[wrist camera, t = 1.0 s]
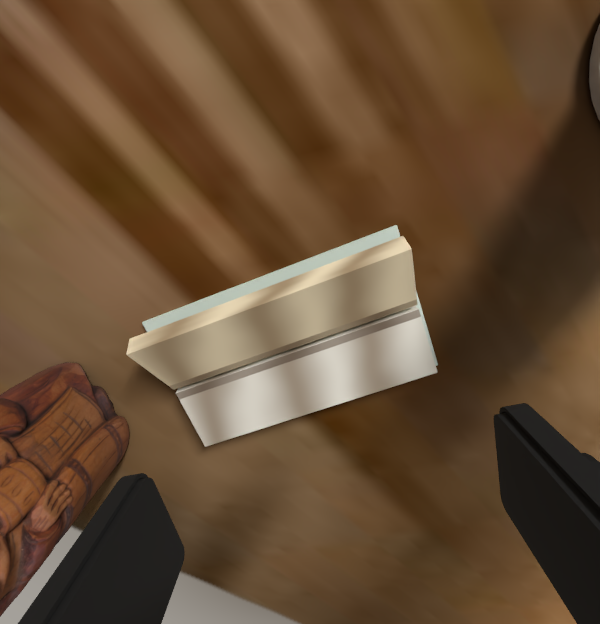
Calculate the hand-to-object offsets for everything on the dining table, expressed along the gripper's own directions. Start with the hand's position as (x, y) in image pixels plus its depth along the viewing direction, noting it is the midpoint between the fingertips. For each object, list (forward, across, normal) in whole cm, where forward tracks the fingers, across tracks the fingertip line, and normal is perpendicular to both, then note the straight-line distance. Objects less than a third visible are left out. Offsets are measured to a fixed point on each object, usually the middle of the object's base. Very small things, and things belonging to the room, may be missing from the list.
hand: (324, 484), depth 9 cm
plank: (+16, +3, 0) cm, 17 cm away
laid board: (+18, +2, +6) cm, 19 cm away
